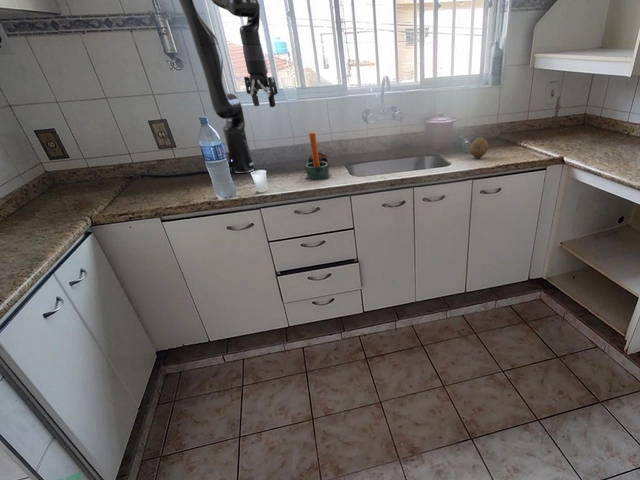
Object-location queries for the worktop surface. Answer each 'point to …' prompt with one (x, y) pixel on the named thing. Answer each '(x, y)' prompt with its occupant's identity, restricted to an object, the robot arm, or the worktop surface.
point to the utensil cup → (317, 171)
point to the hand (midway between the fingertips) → (264, 106)
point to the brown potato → (478, 147)
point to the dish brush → (314, 149)
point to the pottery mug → (321, 158)
